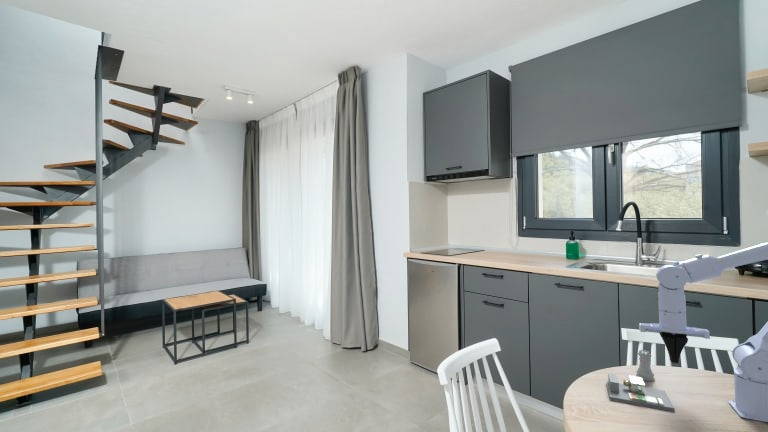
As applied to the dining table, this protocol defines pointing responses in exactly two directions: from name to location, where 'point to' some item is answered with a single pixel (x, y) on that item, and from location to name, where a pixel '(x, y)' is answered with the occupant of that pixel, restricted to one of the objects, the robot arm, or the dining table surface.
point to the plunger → (635, 384)
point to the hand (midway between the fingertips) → (674, 361)
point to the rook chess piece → (645, 366)
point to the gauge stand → (638, 395)
